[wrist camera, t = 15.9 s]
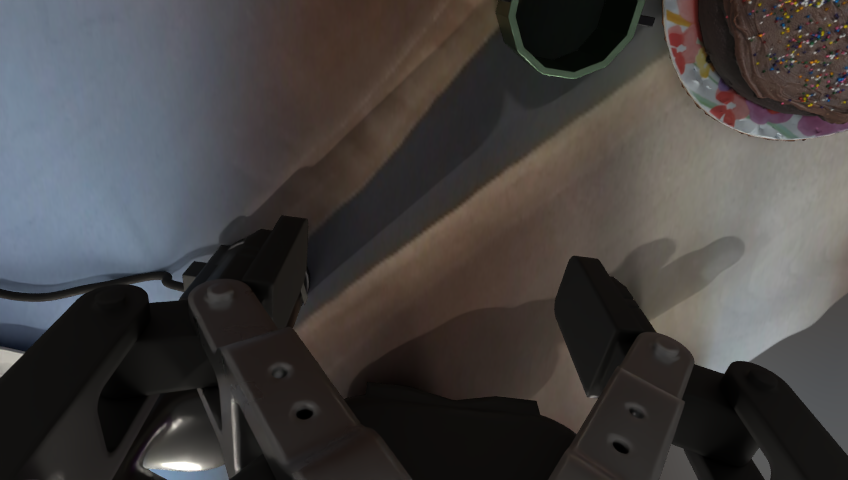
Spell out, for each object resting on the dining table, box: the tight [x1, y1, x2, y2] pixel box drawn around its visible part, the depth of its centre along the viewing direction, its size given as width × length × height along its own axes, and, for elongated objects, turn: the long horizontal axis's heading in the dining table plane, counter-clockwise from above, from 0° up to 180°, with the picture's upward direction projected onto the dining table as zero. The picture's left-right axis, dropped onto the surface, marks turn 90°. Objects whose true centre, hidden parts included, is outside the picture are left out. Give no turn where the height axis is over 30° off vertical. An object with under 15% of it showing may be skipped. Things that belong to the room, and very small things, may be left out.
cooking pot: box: [496, 0, 655, 79], centre depth 35 cm, size 11×9×6 cm
